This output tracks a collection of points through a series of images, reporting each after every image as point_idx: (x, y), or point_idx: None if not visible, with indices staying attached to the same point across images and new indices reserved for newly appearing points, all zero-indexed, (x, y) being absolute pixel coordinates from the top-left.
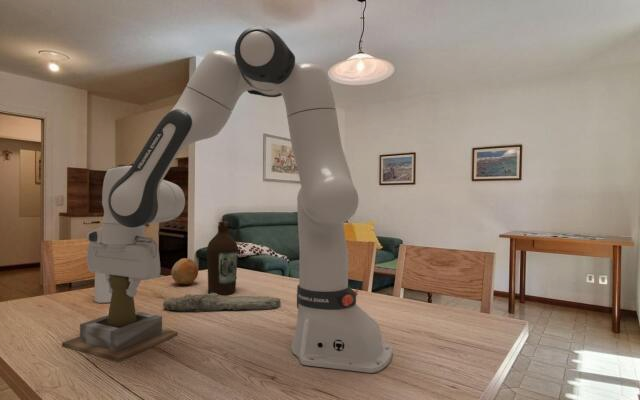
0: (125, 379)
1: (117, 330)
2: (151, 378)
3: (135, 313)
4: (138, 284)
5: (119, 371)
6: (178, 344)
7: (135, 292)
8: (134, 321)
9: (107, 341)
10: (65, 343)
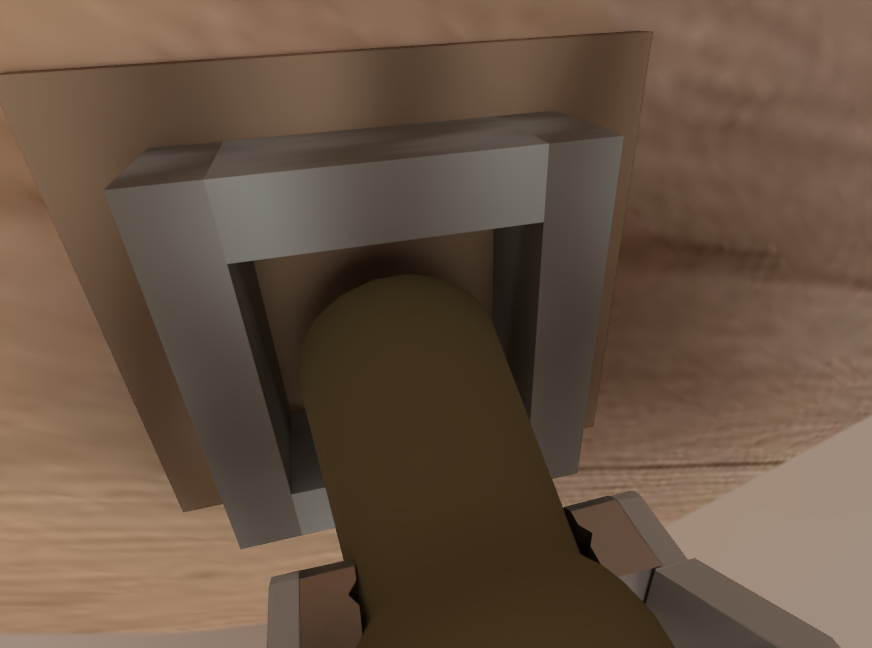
0: (703, 449)
1: (552, 462)
2: (778, 403)
3: (484, 328)
4: (750, 595)
5: (647, 440)
6: (724, 149)
7: (650, 522)
8: (492, 323)
9: None
10: (213, 505)
